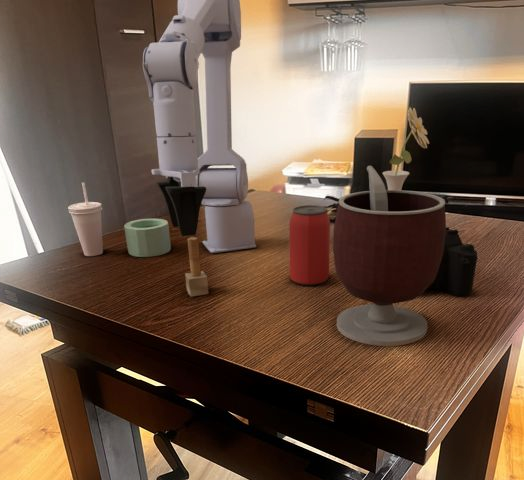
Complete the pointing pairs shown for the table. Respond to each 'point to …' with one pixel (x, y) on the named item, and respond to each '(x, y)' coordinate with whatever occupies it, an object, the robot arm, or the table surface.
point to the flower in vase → (406, 152)
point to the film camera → (456, 266)
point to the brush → (195, 271)
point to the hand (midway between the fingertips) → (183, 230)
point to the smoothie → (88, 225)
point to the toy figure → (332, 206)
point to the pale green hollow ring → (147, 237)
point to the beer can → (309, 245)
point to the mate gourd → (387, 259)
